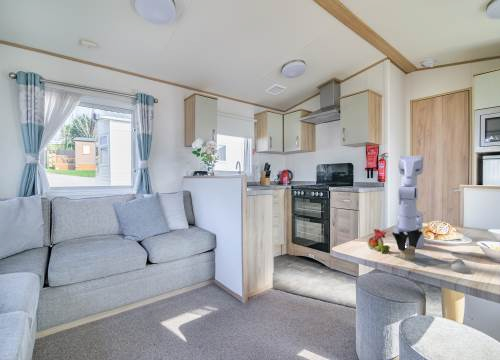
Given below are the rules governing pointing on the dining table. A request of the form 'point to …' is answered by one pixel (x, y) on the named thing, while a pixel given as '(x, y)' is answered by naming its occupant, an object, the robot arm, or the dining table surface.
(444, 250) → the dining table surface
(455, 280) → the dining table surface
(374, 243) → the bird rattle
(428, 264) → the lacing board
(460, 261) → the pale two-lobed sculpture
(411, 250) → the brown wooden block
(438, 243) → the dining table surface
